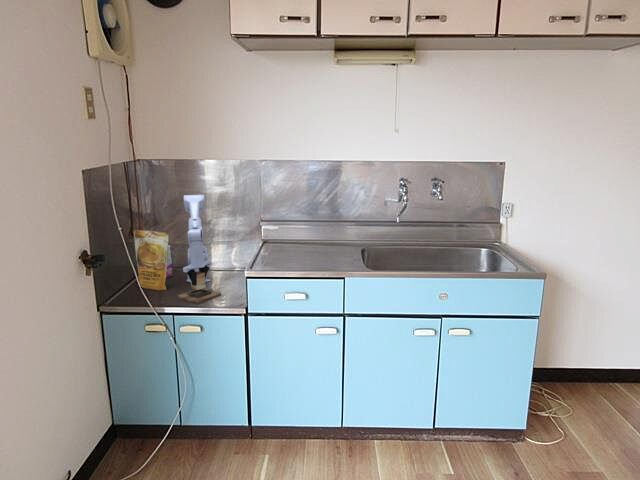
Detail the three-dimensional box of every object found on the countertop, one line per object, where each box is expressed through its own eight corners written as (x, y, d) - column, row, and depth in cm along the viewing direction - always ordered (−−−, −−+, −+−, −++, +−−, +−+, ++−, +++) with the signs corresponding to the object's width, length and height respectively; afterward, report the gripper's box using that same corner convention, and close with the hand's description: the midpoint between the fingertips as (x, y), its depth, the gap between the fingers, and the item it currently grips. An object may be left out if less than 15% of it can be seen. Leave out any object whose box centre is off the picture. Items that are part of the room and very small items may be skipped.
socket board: (177, 297, 218) (176, 293, 217) (201, 289, 229) (201, 285, 228) (197, 304, 210) (196, 299, 209) (221, 295, 221) (221, 291, 220)
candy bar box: (167, 274, 251) (164, 244, 247) (173, 275, 249) (171, 245, 245) (149, 280, 242) (146, 249, 238) (156, 281, 240) (153, 250, 236)
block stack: (191, 288, 218) (190, 273, 216) (199, 285, 221) (198, 271, 220) (197, 290, 215) (196, 275, 214) (205, 287, 219) (204, 272, 217)
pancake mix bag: (142, 282, 238) (137, 228, 231) (174, 287, 231) (169, 231, 225) (133, 287, 232) (127, 231, 225) (165, 292, 225) (160, 234, 218)
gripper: (189, 260, 206) (191, 289, 210) (215, 252, 218) (216, 281, 221) (179, 257, 211) (181, 286, 214) (204, 250, 222) (206, 278, 225)
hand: (198, 283), depth 218 cm, fingers closed on block stack, 4 cm apart
